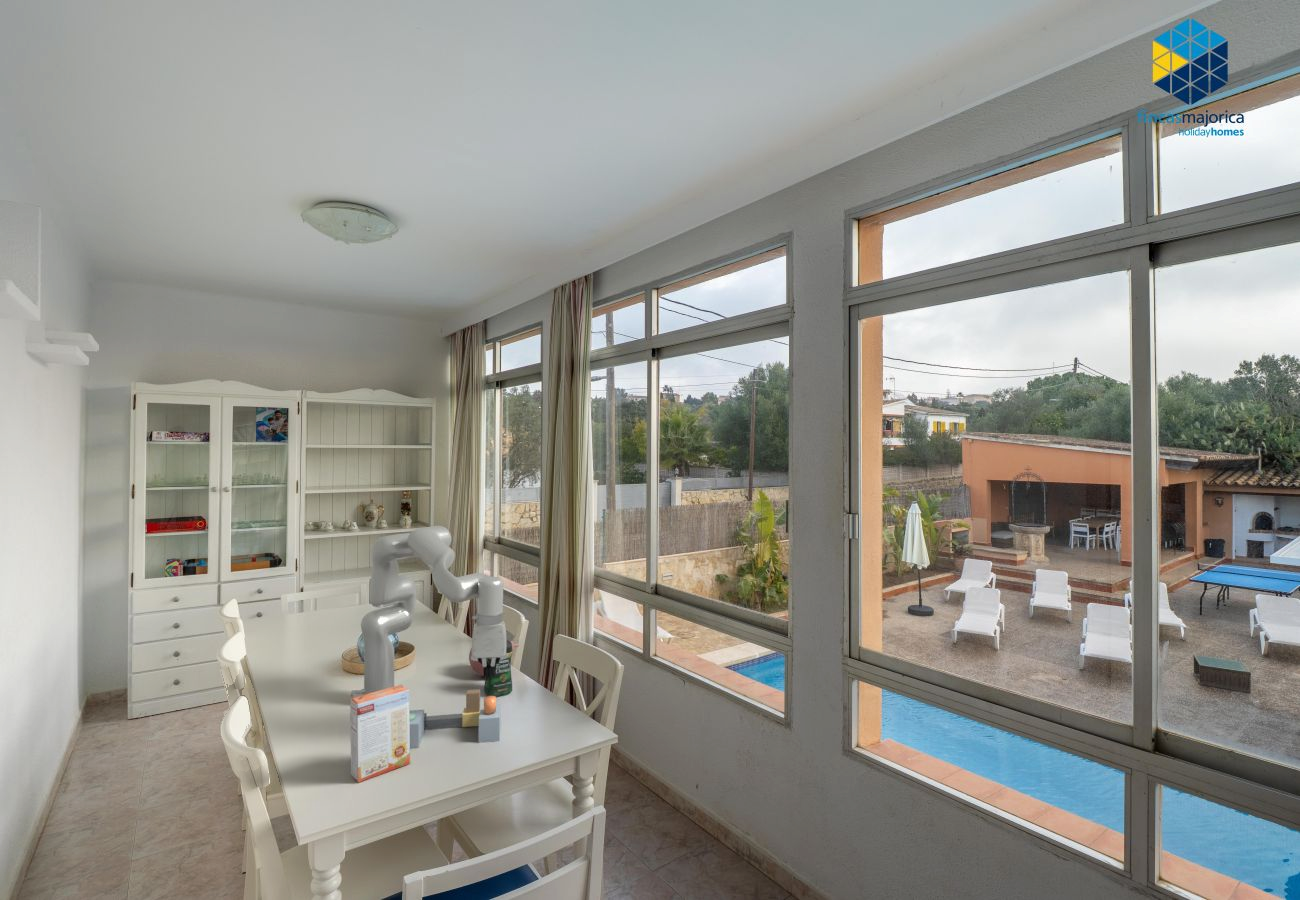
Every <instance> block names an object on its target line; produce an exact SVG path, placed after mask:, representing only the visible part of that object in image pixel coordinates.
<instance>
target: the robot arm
mask: <svg viewBox="0 0 1300 900" xmlns="http://www.w3.org/2000/svg"><path fill="white" fill-rule="evenodd" d="M451 543H452V534H451V532H450V531H449V529H448V528H446V527H445V526H443V525H432V526H426V527H424V526H423V527H419V528H416V529H414V530H413V531H411V532H405V533H396V534H389V535H385V536H382V537H381V536H380V537H379V538H377V539H376V540H375V541H374V543H373V544H372V547H371V551H370V552H371V554H370V556H371V566H372V567H371V568H372V569H371V577H370V586H369V595H368V598H369V603H370V604H371V605H372V607H375V608H378V609H374V610H371V611H369V612H368V613H366V614H365V615H364V616H363V617H362V618H361V622H360V628H361V634H362V639H363V656H364V657H363V658H364V659H363V667H364V669H363V671H364V672H363V677H364V678H363V686H364V687H363V688H362V689H359V690H357V689H356V690H351V691H350V697H352V698H354V697H358V696H361V695H365V694H369V693H372V692H376V691H380V690H383V689H387V688H390V687H394V686H395V647H394V644H393V642H392V640H390V637H389V636H392V635H394V634H398V633H401V632H403V631H406V630H408V629H409V628H410V627H411V626H412V624H413V620H414V616H415V615H414V614H415V609H416V608H415V607H416V599H417V586H416V582H415V580H414V579H413V578H412V576H410V575H408V574H399V572H400V566H399V563H398V561H397V560H403V559H404V560H405V559H409V558H415V557H418V558H419V559H421V560H422V561H423V562H424V563H425V564H426V565H427V566H428V568H430V569H431V570H432V574H431V575H432V581H433V583H434V586H435V588H436V589H437V591H438V592H440V593H441V594H442V596H443V597H445V598H446V599H447V600H449V601H450V602H453V603H463V602H466V601H470V600H474V599H477V607H476V608H477V613H476V614H473V615H472V616H471V617H472V618H471V620H474V621H476V622H474V625H473V630H472V638H471V639H472V640H471V647H472V656H471V660H474V661H478V662H480V663H481V664H482V665H483V667H484V675H483V676H482V677H484V676H486V680H488V677H489V680H491V676H494V666H495V664H496V663H497V662H498V661H499V660H503V659H506V658H507V653H506V640H507V630H506V629H507V628H506V622H505V621H504V620H503V618H504V617H503V616H504V615H503V614H504V580H503V578H501V577H498V576H490V575H488V574H486V573H483V572H475V573H470V574H466V575H465V574H464V575H462V576H458V577H457V576H455V575H453V573H451V571H449V568H451V566H452V565H453V563H454V561H455V559H456V553H455V551H454V549H452V548H451V547H450V545H451ZM487 658H492V660H491V662H490V664H488V662H487Z"/></svg>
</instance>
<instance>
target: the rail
mask: <svg viewBox="0 0 1300 900" xmlns="http://www.w3.org/2000/svg"><path fill="white" fill-rule="evenodd" d="M427 713H428V712H424V731H428V730H429V731H430V730H441V729H442V730H443V729H455V728H463V727H462V715H463V713H451V714H439V715H427ZM468 727H469V728H470V726H468ZM468 727H467V728H468Z"/></svg>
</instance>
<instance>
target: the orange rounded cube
mask: <svg viewBox="0 0 1300 900" xmlns="http://www.w3.org/2000/svg"><path fill="white" fill-rule="evenodd" d="M496 704H497V697H495V696H487V695H486V696H485V697H483V705H484V713H486V714H491V713H494V712H496Z"/></svg>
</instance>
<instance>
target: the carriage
mask: <svg viewBox="0 0 1300 900" xmlns="http://www.w3.org/2000/svg"><path fill="white" fill-rule="evenodd" d="M465 696H466V697H465V705H466V706H465V707H464V708H463V711H462V714H463V715H462V727H461V728H468V726H469V727H479V715H480V710H481V689H469V690H466V693H465Z"/></svg>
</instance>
